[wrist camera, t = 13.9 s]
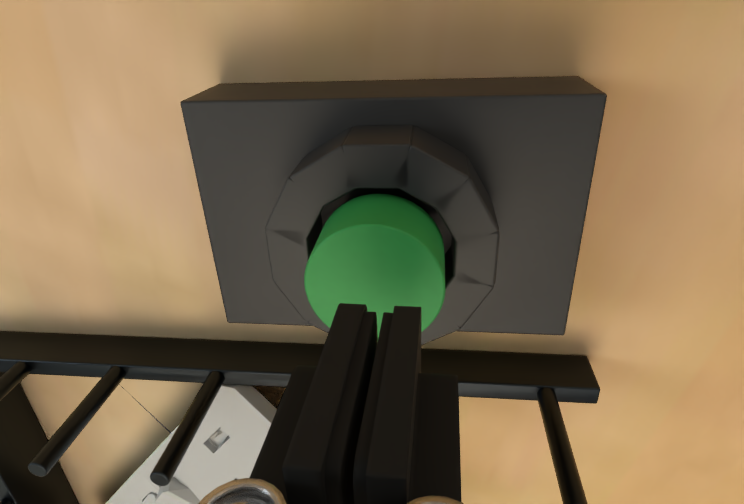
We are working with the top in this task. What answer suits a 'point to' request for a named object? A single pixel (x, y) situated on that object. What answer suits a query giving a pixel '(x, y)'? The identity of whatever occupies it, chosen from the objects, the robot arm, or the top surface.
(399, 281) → the button
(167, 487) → the wall socket
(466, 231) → the control block
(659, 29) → the top surface
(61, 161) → the top surface
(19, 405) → the dish rack
